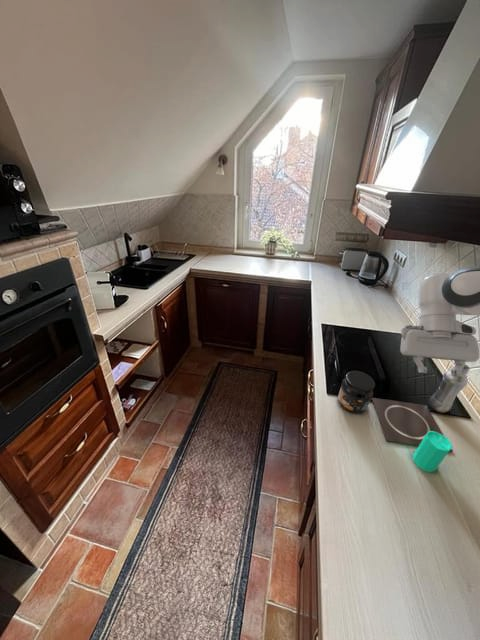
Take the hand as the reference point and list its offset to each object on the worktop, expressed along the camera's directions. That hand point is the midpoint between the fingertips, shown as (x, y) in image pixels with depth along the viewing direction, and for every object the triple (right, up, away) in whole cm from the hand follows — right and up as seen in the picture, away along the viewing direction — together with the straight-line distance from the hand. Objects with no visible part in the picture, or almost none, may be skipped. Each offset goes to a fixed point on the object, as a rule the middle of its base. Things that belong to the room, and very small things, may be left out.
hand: (439, 374), depth 73 cm
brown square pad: (0, -20, +14) cm, 24 cm away
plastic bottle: (+15, -17, +20) cm, 30 cm away
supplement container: (-16, -16, +21) cm, 31 cm away
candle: (-3, -27, +3) cm, 27 cm away
